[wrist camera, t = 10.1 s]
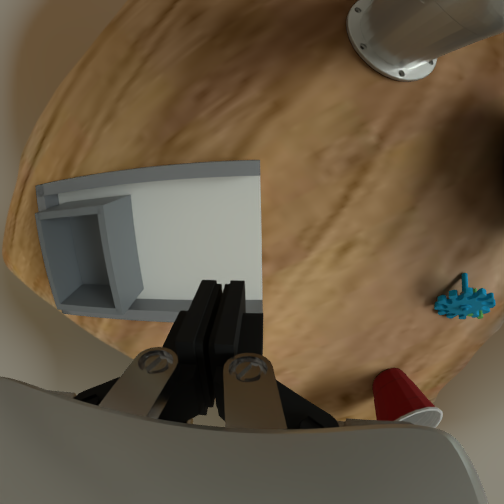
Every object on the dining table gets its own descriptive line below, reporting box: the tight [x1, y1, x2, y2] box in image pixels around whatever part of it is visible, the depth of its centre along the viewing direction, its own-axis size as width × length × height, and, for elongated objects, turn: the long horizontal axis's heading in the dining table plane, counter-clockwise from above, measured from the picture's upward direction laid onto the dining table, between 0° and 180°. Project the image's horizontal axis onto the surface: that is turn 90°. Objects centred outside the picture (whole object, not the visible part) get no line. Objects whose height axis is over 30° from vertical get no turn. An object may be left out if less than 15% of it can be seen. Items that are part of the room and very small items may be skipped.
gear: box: [434, 273, 495, 319], centre depth 33 cm, size 11×6×10 cm
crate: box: [35, 195, 144, 315], centre depth 30 cm, size 12×10×7 cm
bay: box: [36, 160, 263, 322], centre depth 32 cm, size 18×28×4 cm, turn 91°
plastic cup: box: [373, 368, 443, 428], centre depth 36 cm, size 11×11×12 cm
